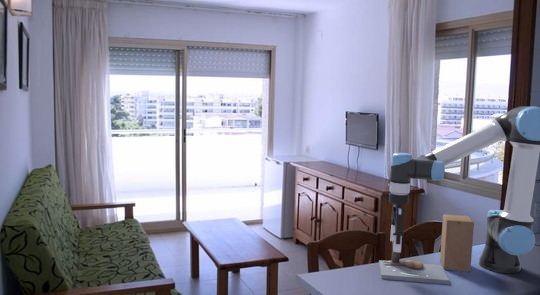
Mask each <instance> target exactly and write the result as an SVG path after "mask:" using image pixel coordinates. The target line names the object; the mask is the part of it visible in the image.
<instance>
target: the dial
mask: <svg viewBox="0 0 540 295" xmlns="http://www.w3.org/2000/svg"><path fill="white" fill-rule="evenodd" d="M391 244H392V246H391V260H382V261H383V263H390V264H395V265H405V266H406V267H409V268H413V269H421V268H423V264H424V263H423V262H422V261H419V260H414V259H407V260H405V261H403V260H402V261H401V260H400V257H401V256H400V255H401V253H400V252H393V248H394V240H393V241H392V243H391Z"/></svg>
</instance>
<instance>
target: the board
mask: <svg viewBox="0 0 540 295" xmlns="http://www.w3.org/2000/svg"><path fill="white" fill-rule="evenodd" d="M383 261H384V260H383V259H381V260H378V265H379V272H380V278H381V279H383V280H396V281H405V282H420V283H429V284H440V285H441V284H443V285H450V283H451V282H450V278H449V276H448V275H447V273H446V271H445V269H444V268H443V266H442V264H433V263H432V264H430V263H423V268H421V269H413V268H409V267H406V266H405V265H395V264H390V263H383Z"/></svg>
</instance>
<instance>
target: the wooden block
mask: <svg viewBox="0 0 540 295" xmlns="http://www.w3.org/2000/svg"><path fill="white" fill-rule="evenodd" d="M441 226H442V227H441V241H440V243H441V244H440V254H439V255H440V258H439V261H440V265H442V267H443V269H444V271H445V270H447V271H448V270H449V271H457V272H471V270H472V269H471V267H472V255H473V254H472V253H473V239H474V226H475V221H473V220H472V219H471V218H470V216H468V215H462V214H461V215H460V214H459V215H458V214H446V213H445V214H442V225H441Z"/></svg>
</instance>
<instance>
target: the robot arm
mask: <svg viewBox="0 0 540 295" xmlns="http://www.w3.org/2000/svg"><path fill="white" fill-rule="evenodd" d="M501 141H502V142H507V141H509V143H510V145H511V146H512V154H511V161H510V166H509V167H510V168H509V174H508V179H507V180H508V181H507V188H506V193H505V200H504V201H505V202H504V207H503V210H502V209H489V210H488V211H487V216H486V227H485V228H486V229H485V242H484V244H485V245H484V247H483V250H482V251H481V254H480V256H479V260H478V264H479V266H480V267H482V269H483V268H484V269H486V270H489V271H492V272H496V273H501V274H503V273H504V274H517V273H519V272H521V269H522V263H521V260H520V256H523V255H526V254H528V253H530V252H531V250H533V248H534V247H535V245H536V237H535V233H534V232H533V227H534V218H533V217H532V216H531V211H532V210H531V209H532V203H533V196H534V190H535V184H536V178H537V171H538V165H539V160H540V158H539V157H540V107H538V106H535V105H534V106H530V105H529V106H525V105H524V106H521V105H520V106H517V107H514V108H512V109H511V110H509V111H506V112H505V113H504V114H501V115H500V116H498V117H496V118H493V119H492V121H491V123H490V124H486V125H485V126H483V127H481V128H479V129H477V130H474V131H472V132H470V133H468V134H466V135H464V136H462V137H459V138H458V139H454V140H453V141H451V142H449V143H447V144H444V145H443V146H442V145H441V147H438V148H436V149H434V150H432V151H430V152H428V153H426V154H421V155H418V156H416V158H413V155H412V154H411V153H407V152H394V153H393V154H392V156H391V164H390V175H389V176H390V177H389V183H388V184H387V186H388V187H389V193H388V202H389V203H390V204H392V210H391V218H390V221H391V227H390V239H389V240H390V242H393V240H394V248H393V252H400V254H401V253H402V242H403V240H402V239H403V236H404V213H405V212H404V211H405V210H404V207H403V206H404V205H409V201H410V195H409V194H410V191H411V179H413V180H424V181H439V182H440V181H443V179H444V177H445V173H446V172H445V169H446V167H445V166H449V165H451V164H452V163H455V162H457V161H459V160H461V159H464V158H465V157H467V156H470V155H472V154H474V153H476V152H478V151H480V150H483V149H485V148H487V147H490V146H491V145H493V144H496V143H498V142H501Z"/></svg>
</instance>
